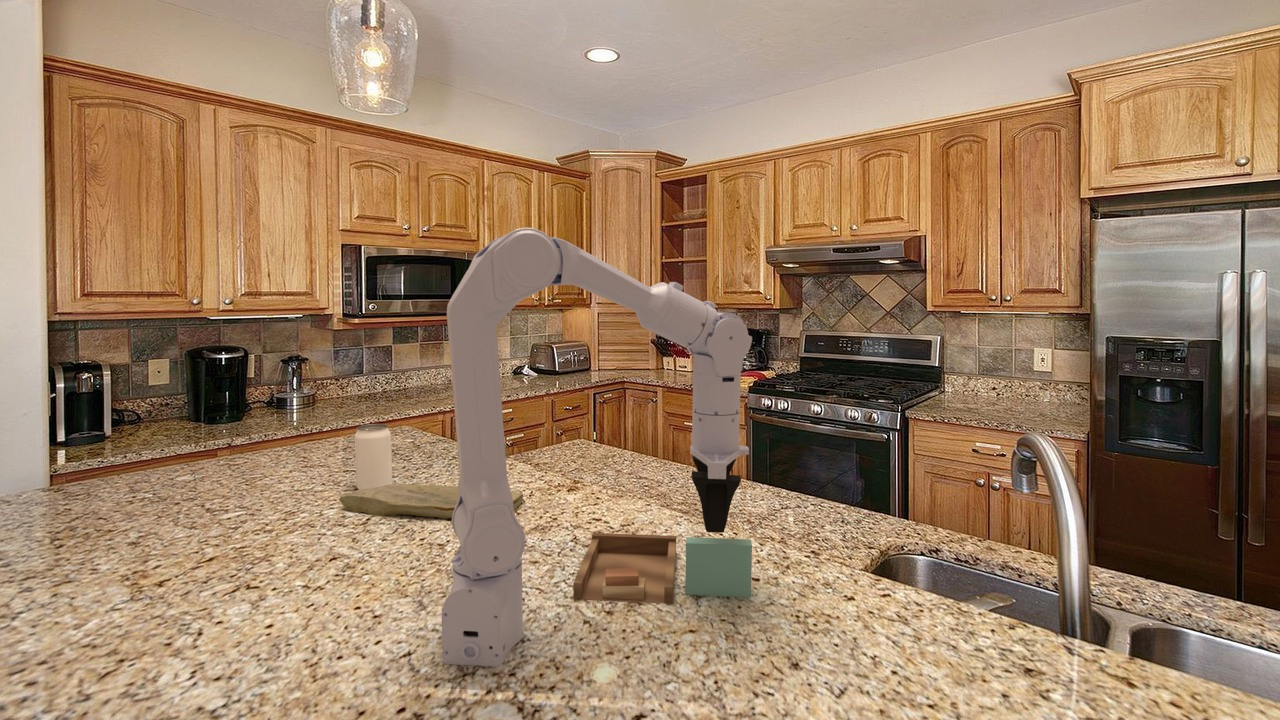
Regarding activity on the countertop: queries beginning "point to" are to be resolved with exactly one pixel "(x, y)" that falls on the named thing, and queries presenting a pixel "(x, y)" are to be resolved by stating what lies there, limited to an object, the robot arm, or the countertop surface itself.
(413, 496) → the stone slab
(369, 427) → the can
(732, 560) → the block
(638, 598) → the offcut lower
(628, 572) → the offcut upper
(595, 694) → the countertop surface
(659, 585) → the tray
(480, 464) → the robot arm
